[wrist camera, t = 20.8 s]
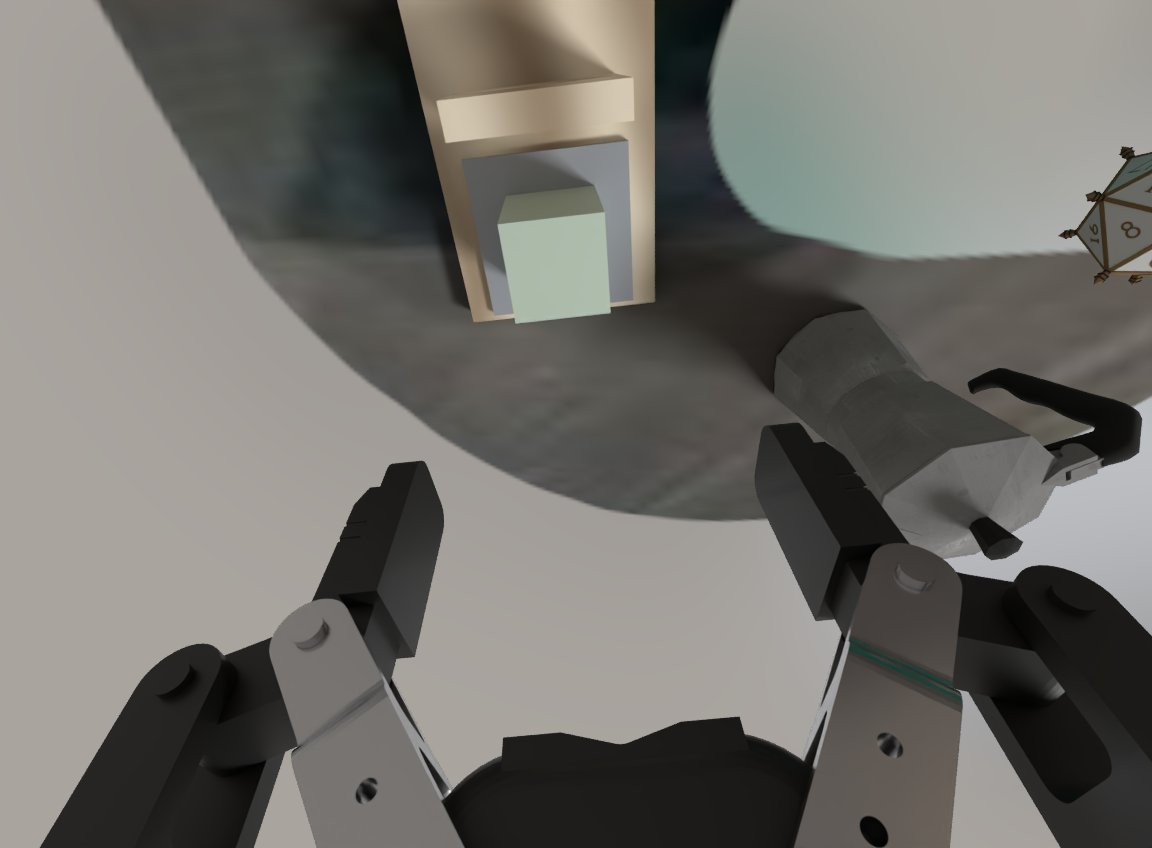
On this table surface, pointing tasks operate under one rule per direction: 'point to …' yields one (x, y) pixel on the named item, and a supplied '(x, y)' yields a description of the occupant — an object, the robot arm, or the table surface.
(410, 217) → the table surface
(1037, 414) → the table surface
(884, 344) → the coffeepot
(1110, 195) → the game die
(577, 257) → the sage block
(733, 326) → the table surface
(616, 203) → the slate pad
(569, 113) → the puzzle board
